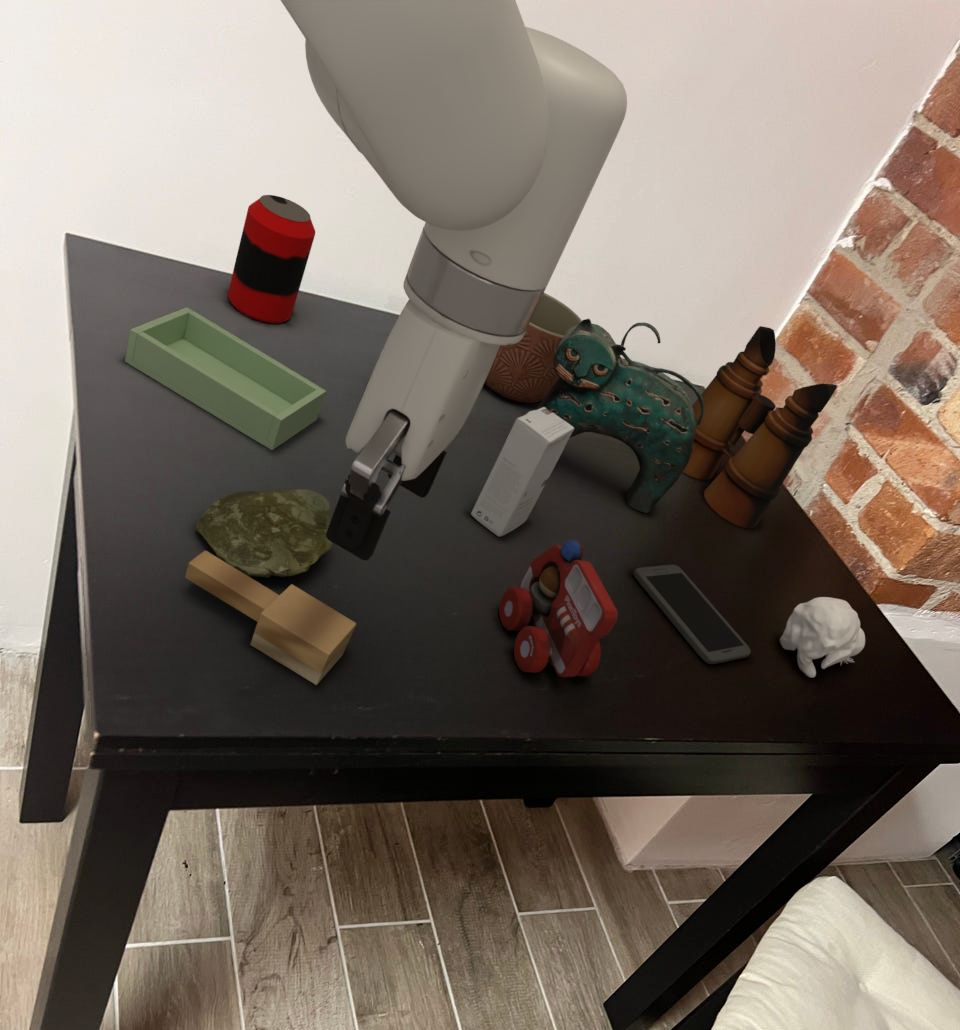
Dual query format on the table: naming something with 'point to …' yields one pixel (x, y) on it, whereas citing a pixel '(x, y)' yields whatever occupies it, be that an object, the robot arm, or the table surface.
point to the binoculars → (774, 437)
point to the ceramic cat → (625, 406)
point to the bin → (225, 376)
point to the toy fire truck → (559, 613)
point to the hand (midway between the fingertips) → (379, 515)
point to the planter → (532, 354)
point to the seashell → (268, 531)
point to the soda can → (271, 259)
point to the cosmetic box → (521, 470)
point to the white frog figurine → (823, 633)
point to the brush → (279, 618)
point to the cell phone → (692, 614)
